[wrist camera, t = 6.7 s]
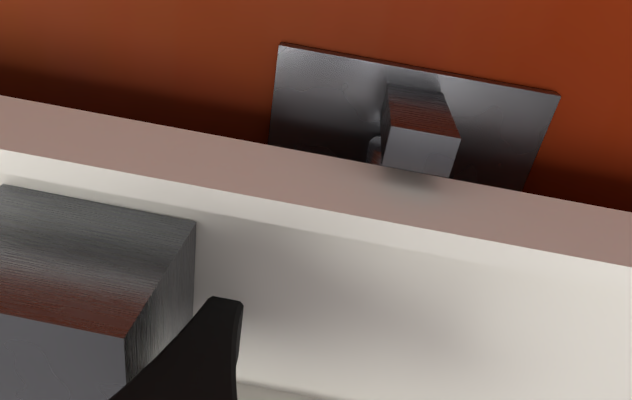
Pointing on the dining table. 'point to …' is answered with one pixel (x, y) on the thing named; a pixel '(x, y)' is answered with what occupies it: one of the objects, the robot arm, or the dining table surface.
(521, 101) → the stand
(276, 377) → the beam
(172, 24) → the dining table surface
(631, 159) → the dining table surface
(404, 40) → the dining table surface
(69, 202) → the grey block
